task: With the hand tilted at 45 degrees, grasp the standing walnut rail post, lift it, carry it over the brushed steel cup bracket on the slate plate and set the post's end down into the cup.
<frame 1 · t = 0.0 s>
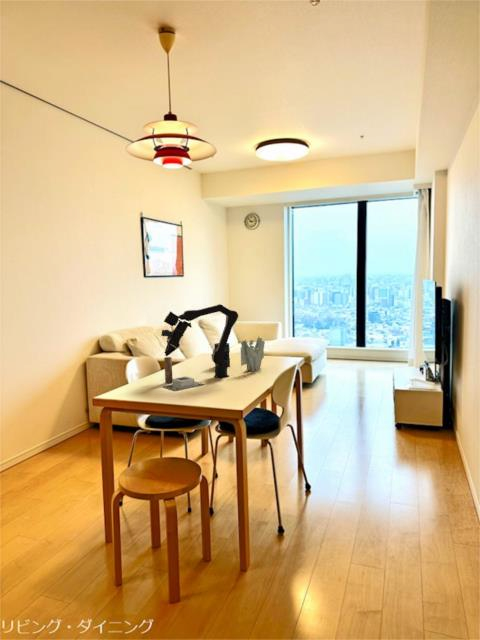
hand: (165, 354, 248), 15 cm above the table, tool tilted 35°, fingers open, 9 cm apart
cup bracket: (183, 386, 236), on the table
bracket: (253, 370, 272), on the table
storage jar: (222, 367, 286), on the table
rail post: (169, 382, 245), on the table
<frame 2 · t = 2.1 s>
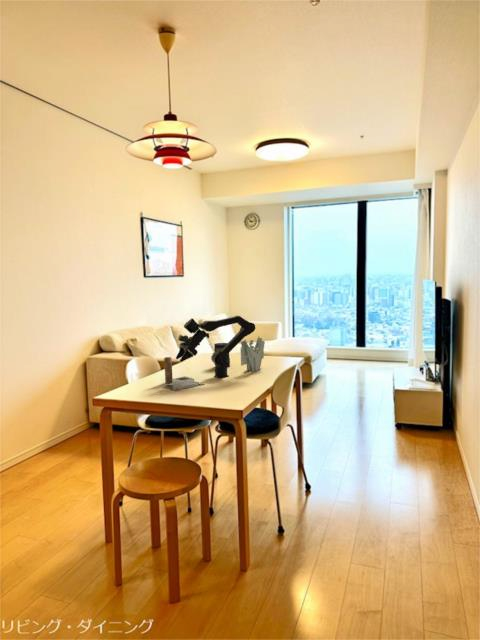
hand: (178, 360, 246), 12 cm above the table, tool tilted 45°, fingers open, 9 cm apart
nothing on the table moved.
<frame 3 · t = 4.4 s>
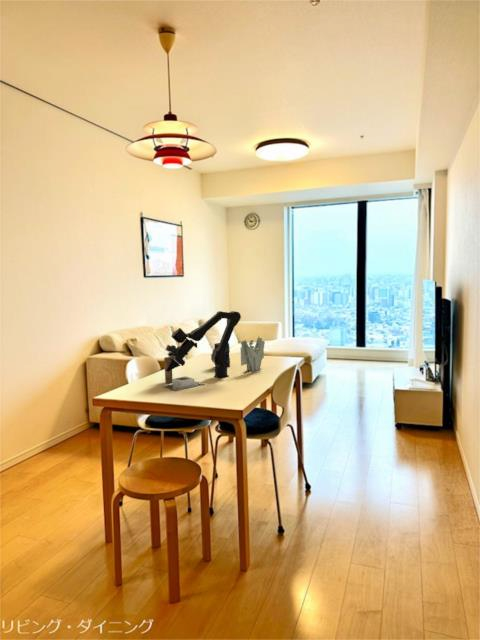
hand: (165, 370, 244), 7 cm above the table, tool tilted 45°, fingers closed on rail post, 4 cm apart
rail post: (169, 382, 245), on the table, touching gripper
everything else where it was.
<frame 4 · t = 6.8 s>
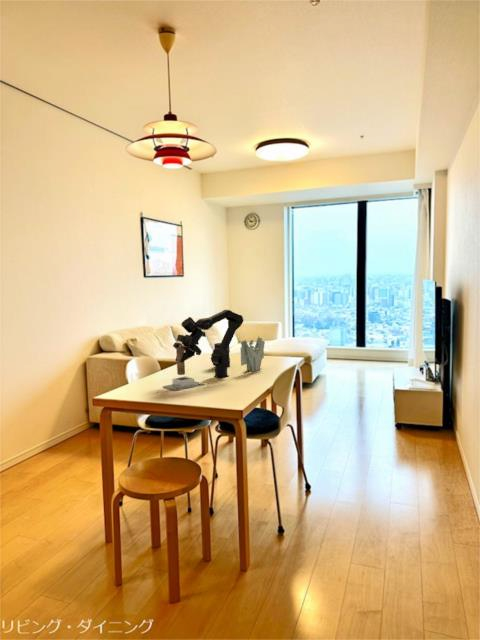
hand: (178, 361, 234), 13 cm above the table, tool tilted 45°, fingers closed on rail post, 4 cm apart
rail post: (181, 374, 236), point 6 cm above the table, touching gripper
everything else where it was.
when the fingers open (9 cm above the table, at t = 9.4 s): rail post drops 2 cm, resting on cup bracket.
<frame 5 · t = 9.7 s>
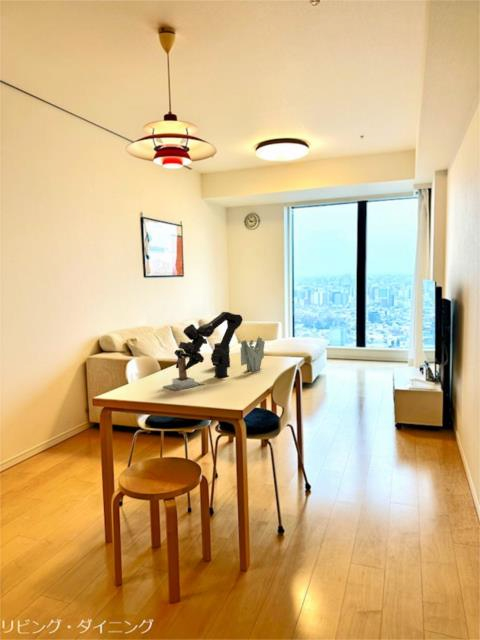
hand: (180, 368, 234), 10 cm above the table, tool tilted 45°, fingers open, 7 cm apart
rail post: (183, 384, 236), point 1 cm above the table, touching cup bracket
everything else where it was.
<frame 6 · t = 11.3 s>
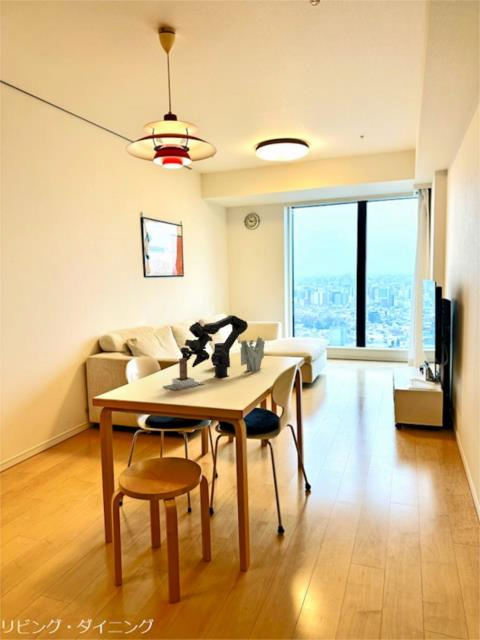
hand: (186, 366, 237), 10 cm above the table, tool tilted 45°, fingers open, 9 cm apart
nothing on the table moved.
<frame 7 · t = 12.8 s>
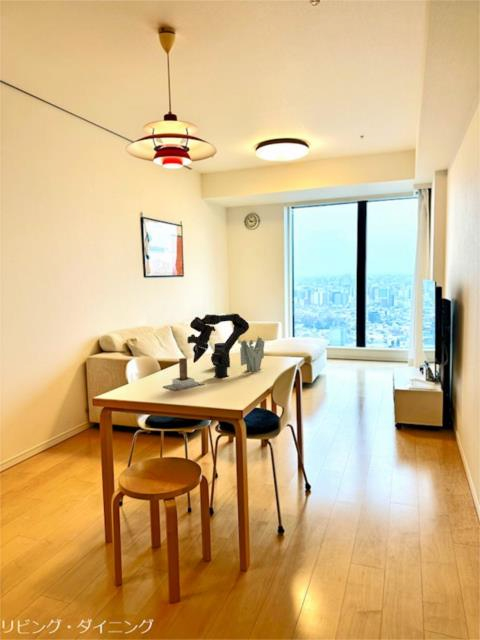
hand: (195, 361, 242), 12 cm above the table, tool tilted 30°, fingers open, 9 cm apart
nothing on the table moved.
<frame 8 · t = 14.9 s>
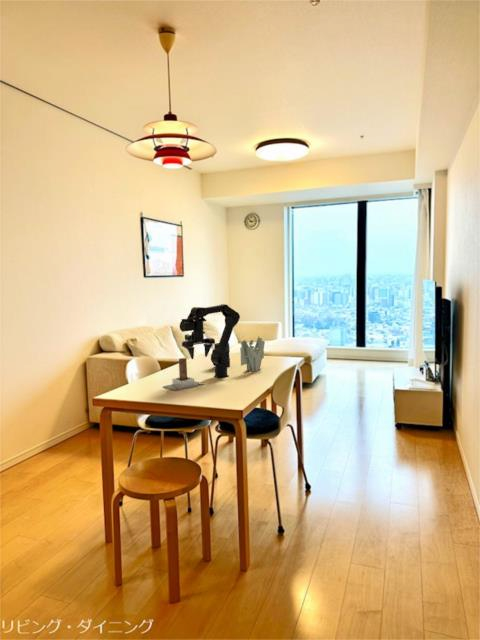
hand: (199, 358, 245), 13 cm above the table, tool pointing down, fingers open, 9 cm apart
nothing on the table moved.
at the end: rail post 0.1 cm off-centre on the cup bracket, point 0.7 cm above the cup bracket's base; rail post tilted 2°; the gripper is holding nothing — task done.
